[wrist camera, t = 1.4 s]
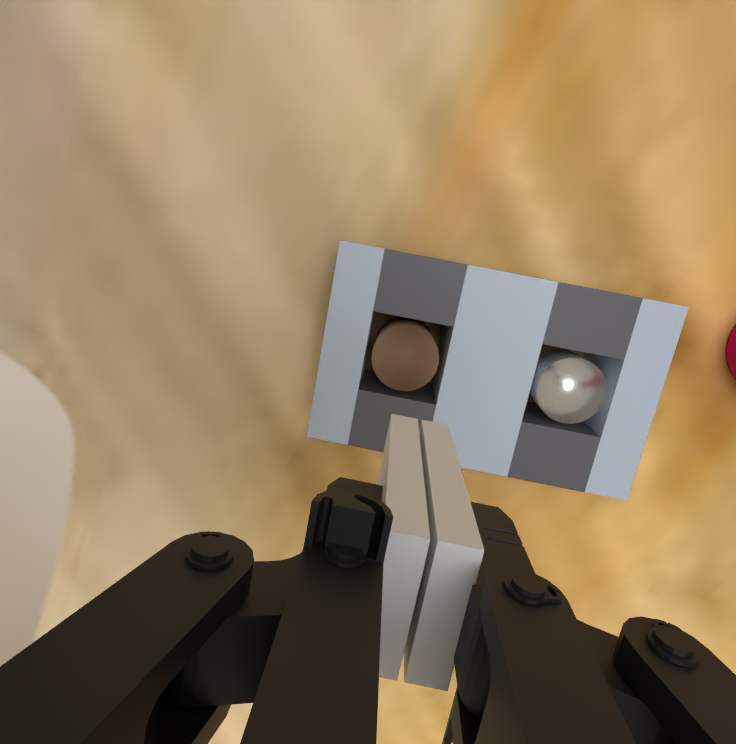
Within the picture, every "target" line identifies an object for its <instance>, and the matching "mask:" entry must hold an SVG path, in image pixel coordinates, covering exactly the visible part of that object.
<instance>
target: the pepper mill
mask: <svg viewBox="0 0 736 744" xmlns="http://www.w3.org/2000/svg"><path fill="white" fill-rule="evenodd" d="M727 362H728V365H729V368H730V371H731V373H732V374H733V376H734V377H735V378H736V326H735V328H734V330H733V331H732V333H731V335H730V338H729V341H728V344H727Z"/></svg>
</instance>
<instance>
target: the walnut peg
mask: <svg viewBox="0 0 736 744" xmlns="http://www.w3.org/2000/svg"><path fill="white" fill-rule="evenodd" d="M438 364H439V352H438V348H437V345H436V343H435V341H434V338H433V336H432V334H431V331H430V329H429V328H428V326H427V325H426V324H425V323H424V322H423V321H421V320H416V319H411V318H406V317H401V316H395V317H393V318H391V319H389V320H388V321H387V322H385V323H384V324H383V325H382V327H381V328H380V330H379V332H378V334H377V338H376V341H375V344H374V347H373V351H372V366H373V369H374V372H375V374H376V375H377V377H378V378H379V379H380V381H381V382H382V383H384V384H385V385H386V386H388V387H390V388H392V389H394V390H398V391H412V390H416V389H418V388H421V387H422V386H424V385H426V384H427V383H428V382H429V381H430V380H431V379H432V378H433V376H434V375H435V373H436V371H437V368H438Z"/></svg>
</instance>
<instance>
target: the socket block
mask: <svg viewBox="0 0 736 744" xmlns="http://www.w3.org/2000/svg"><path fill="white" fill-rule="evenodd" d="M688 308H689V307H686V306H681V305H675V304H670V303H665V302H660V301H655V300H649V299H644V298H639V297H634V296H628V295H623V294H618V293H613V292H608V291H602V290H597V289H592V288H587V287H581V286H576V285H571V284H566V283H561V282H555V281H550V280H545V279H540V278H534V277H529V276H524V275H519V274H513V273H508V272H503V271H498V270H493V269H487V268H482V267H477V266H472V265H466V264H461V263H456V262H451V261H446V260H440V259H435V258H430V257H425V256H419V255H414V254H409V253H404V252H399V251H393V250H388V249H383V248H378V247H372V246H367V245H362V244H357V243H352V242H346V241H341V240H340V243H339V248H338V254H337V260H336V266H335V272H334V278H333V284H332V290H331V296H330V301H329V307H328V313H327V319H326V325H325V331H324V337H323V343H322V348H321V354H320V360H319V366H318V372H317V378H316V384H315V390H314V395H313V401H312V407H311V413H310V419H309V425H308V431H307V437H311V438H316V439H321V440H326V441H331V442H336V443H341V444H346V445H351V446H356V447H361V448H366V449H371V450H376V451H381V452H384V448H385V443H386V438H387V433H388V428H389V423H390V419H391V414H395V415H400V416H405V417H411V418H416V419H418V426H419V431H420V426H421V422H422V420H426V421H431V422H436V423H441V424H446V425H448V426H449V429H450V433H451V436H452V440H453V443H454V447H455V450H456V454H457V457H458V461H459V464H460V467H461V468H466V469H471V470H476V471H481V472H486V473H491V474H496V475H501V476H506V477H511V478H516V479H521V480H526V481H531V482H536V483H541V484H546V485H551V486H556V487H561V488H566V489H571V490H576V491H581V492H586V493H591V494H596V495H601V496H606V497H611V498H616V499H621V500H626V501H627V498H628V495H629V492H630V489H631V486H632V482H633V479H634V476H635V473H636V470H637V467H638V464H639V461H640V458H641V454H642V451H643V448H644V445H645V442H646V439H647V436H648V433H649V430H650V426H651V423H652V420H653V417H654V414H655V411H656V408H657V405H658V402H659V398H660V395H661V392H662V389H663V386H664V383H665V380H666V377H667V373H668V370H669V367H670V364H671V361H672V358H673V355H674V352H675V349H676V345H677V342H678V339H679V336H680V333H681V330H682V327H683V324H684V321H685V317H686V314H687V311H688ZM376 312H380V313H385V314H390V315H395V316H401V317H406V318H411V319H416V320H421V321H426V322H431V323H437V324H442V325H443V329H442V334H441V338H440V343H439V347H438V352H439V364H438V368H437V371H436V373H435V375H434V376H433V378H432V379H431V382H428V383H427V384H426V385H424V386H422V387H421V388H418V389H416V390H412V391H398V390H394V389H392V388H390V387H388V386H386V385H385V384H384V383H382V382H381V381H380V379H379V378H378V377H377V375H376V374H375V372H374V371H371V370H366V369H365V366H366V361H367V355H368V350H369V345H370V340H371V334H372V329H373V324H374V319H375V313H376ZM542 344H545V345H550V346H555V347H560V348H565V349H571V350H576V351H581V352H586V353H585V356H584V359H586V360H588V361H590V362H591V363H593V364H594V365H596V366H597V367H598V368H599V369H600V370H601V372H602V373H603V375H604V377H605V380H606V385H607V392H606V397H605V400H604V403H603V404H602V406H601V408H600V409H599V410H598V411H597V413H595V414H594V415H593V416H592V417H590V418H589V419H587V420H585V421H582V422H579V423H573V424H566V423H561V422H557V421H555V420H553V419H551V418H550V417H549V416H547V415H546V414H545V413H544V412H543V411H542V410H541V408H540V407H539V406H538V405H537V404H536V403H534V402H529V401H527V400H528V396H529V392H530V389H531V385H532V381H533V377H534V373H535V370H536V366H537V362H538V358H539V354H540V351H541V347H542Z"/></svg>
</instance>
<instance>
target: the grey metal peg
mask: <svg viewBox="0 0 736 744" xmlns="http://www.w3.org/2000/svg"><path fill="white" fill-rule="evenodd" d="M606 392H607V385H606V380H605V377H604V375H603V373H602V372H601V370H600V369H599V368H598V367H597V366H596V365H594V364H593V363H591V362H590V361H588V360H586V359H584V358H582V357H580V356H578V355H577V354H575V353H573V352H571V351H569V350H567V349H565V348H560V347H555V346H550V345H545V344H542V347H541V351H540V354H539V358H538V362H537V366H536V370H535V373H534V377H533V381H532V385H531V389H530V392H529V397H530V398H531V399H532V400H533V401H534V402H535V403H536V404H537V405H538V406H539V407H540V408H541V410H542V411H543V412H544V413H545V414H546V415H547V416H549V417H550V418H551V419H553V420H555V421H557V422H561V423H566V424H573V423H579V422H582V421H585V420H587V419H589V418H590V417H592V416H593V415H594V414H595V413H597V411H598V410H599V409H600V408H601V406H602V404H603V403H604V400H605V397H606Z"/></svg>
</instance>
